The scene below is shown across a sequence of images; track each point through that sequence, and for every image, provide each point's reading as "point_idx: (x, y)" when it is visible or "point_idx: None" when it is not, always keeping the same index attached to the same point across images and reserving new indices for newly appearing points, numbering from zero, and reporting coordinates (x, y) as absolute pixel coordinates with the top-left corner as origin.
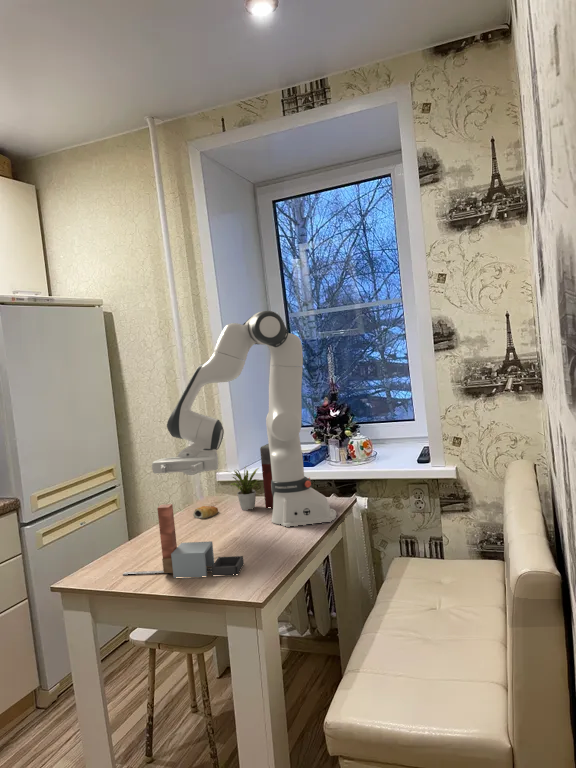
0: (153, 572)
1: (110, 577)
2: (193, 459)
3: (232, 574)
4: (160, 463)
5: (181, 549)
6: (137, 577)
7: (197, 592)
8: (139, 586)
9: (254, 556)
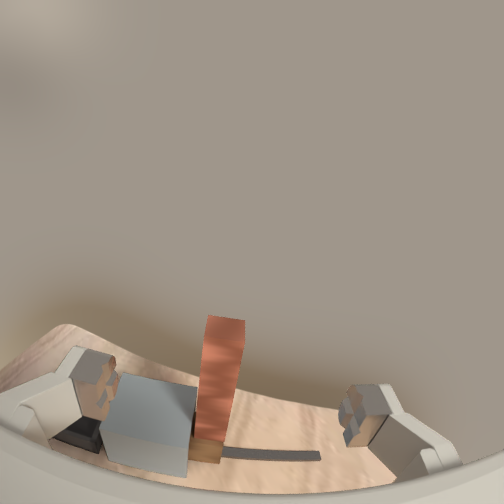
0: (250, 451)
1: (339, 446)
2: (63, 480)
3: None
4: (480, 459)
5: (177, 404)
6: (279, 442)
7: (142, 364)
8: (254, 406)
9: None
